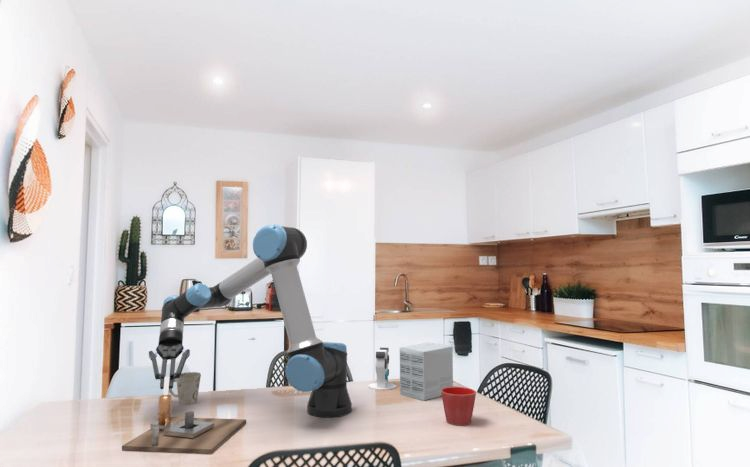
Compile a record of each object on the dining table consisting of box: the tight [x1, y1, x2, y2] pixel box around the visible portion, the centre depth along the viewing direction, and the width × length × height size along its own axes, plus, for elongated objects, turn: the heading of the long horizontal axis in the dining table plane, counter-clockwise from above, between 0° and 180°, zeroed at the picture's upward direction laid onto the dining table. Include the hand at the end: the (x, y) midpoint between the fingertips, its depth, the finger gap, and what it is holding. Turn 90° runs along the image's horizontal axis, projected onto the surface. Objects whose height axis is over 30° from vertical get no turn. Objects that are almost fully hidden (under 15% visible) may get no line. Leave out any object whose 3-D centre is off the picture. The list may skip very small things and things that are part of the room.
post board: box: [121, 410, 247, 455], centre depth 141 cm, size 25×25×7 cm
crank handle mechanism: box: [149, 394, 214, 438], centre depth 142 cm, size 18×10×9 cm, turn 74°
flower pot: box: [441, 386, 477, 426], centre depth 154 cm, size 11×11×10 cm
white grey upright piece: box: [368, 347, 397, 391], centre depth 199 cm, size 12×11×15 cm
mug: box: [169, 371, 202, 406], centre depth 176 cm, size 8×13×10 cm, turn 78°
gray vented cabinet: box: [399, 342, 454, 402], centre depth 188 cm, size 17×13×18 cm
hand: (165, 397), depth 150 cm, fingers closed
